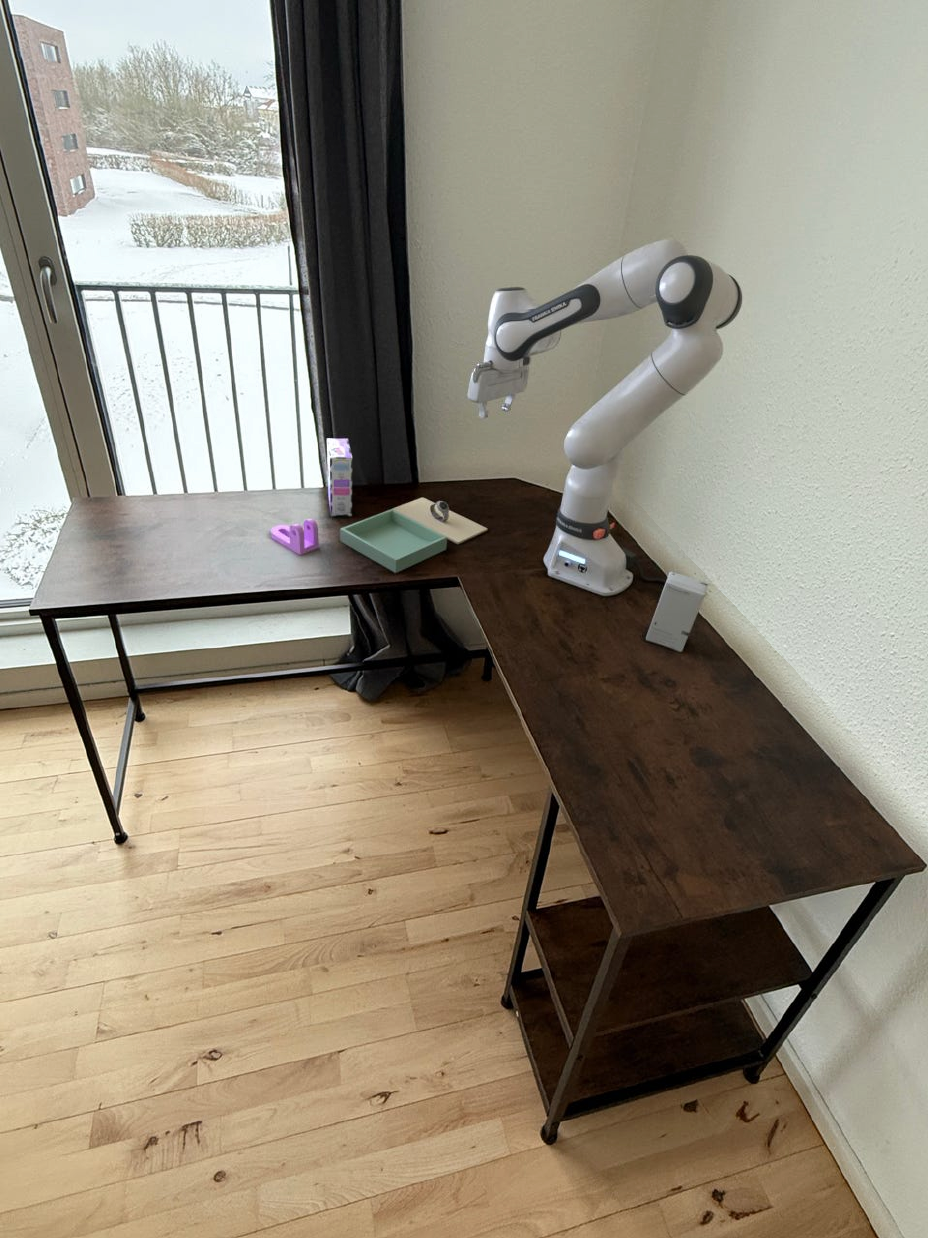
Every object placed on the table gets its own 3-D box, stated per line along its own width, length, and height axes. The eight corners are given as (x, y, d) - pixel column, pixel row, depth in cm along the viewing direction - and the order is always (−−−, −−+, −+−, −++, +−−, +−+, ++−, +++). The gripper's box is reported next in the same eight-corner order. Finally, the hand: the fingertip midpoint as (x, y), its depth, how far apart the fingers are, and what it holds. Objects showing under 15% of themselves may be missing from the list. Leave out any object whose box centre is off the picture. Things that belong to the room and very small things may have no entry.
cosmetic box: (644, 640, 143) (663, 582, 135) (650, 626, 148) (668, 569, 140) (683, 653, 141) (705, 594, 133) (688, 638, 146) (709, 581, 137)
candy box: (352, 516, 177) (353, 457, 167) (330, 517, 175) (329, 457, 166) (348, 494, 187) (348, 437, 178) (327, 494, 186) (326, 436, 177)
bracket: (318, 547, 162) (318, 521, 158) (300, 555, 158) (299, 528, 154) (285, 527, 168) (283, 502, 164) (266, 534, 165) (264, 508, 161)
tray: (446, 549, 167) (447, 537, 165) (395, 573, 156) (396, 560, 154) (391, 520, 177) (392, 508, 175) (340, 541, 166) (340, 528, 164)
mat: (487, 530, 178) (487, 528, 178) (457, 544, 170) (458, 542, 170) (422, 498, 190) (422, 497, 189) (391, 510, 182) (392, 508, 182)
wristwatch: (441, 524, 177) (443, 507, 174) (426, 515, 180) (428, 498, 177) (451, 521, 179) (453, 504, 176) (436, 512, 182) (437, 495, 179)
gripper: (485, 367, 156) (478, 425, 164) (536, 356, 170) (527, 410, 178) (464, 360, 159) (459, 417, 167) (516, 350, 173) (509, 403, 181)
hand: (494, 413), depth 173 cm, fingers open, 8 cm apart
